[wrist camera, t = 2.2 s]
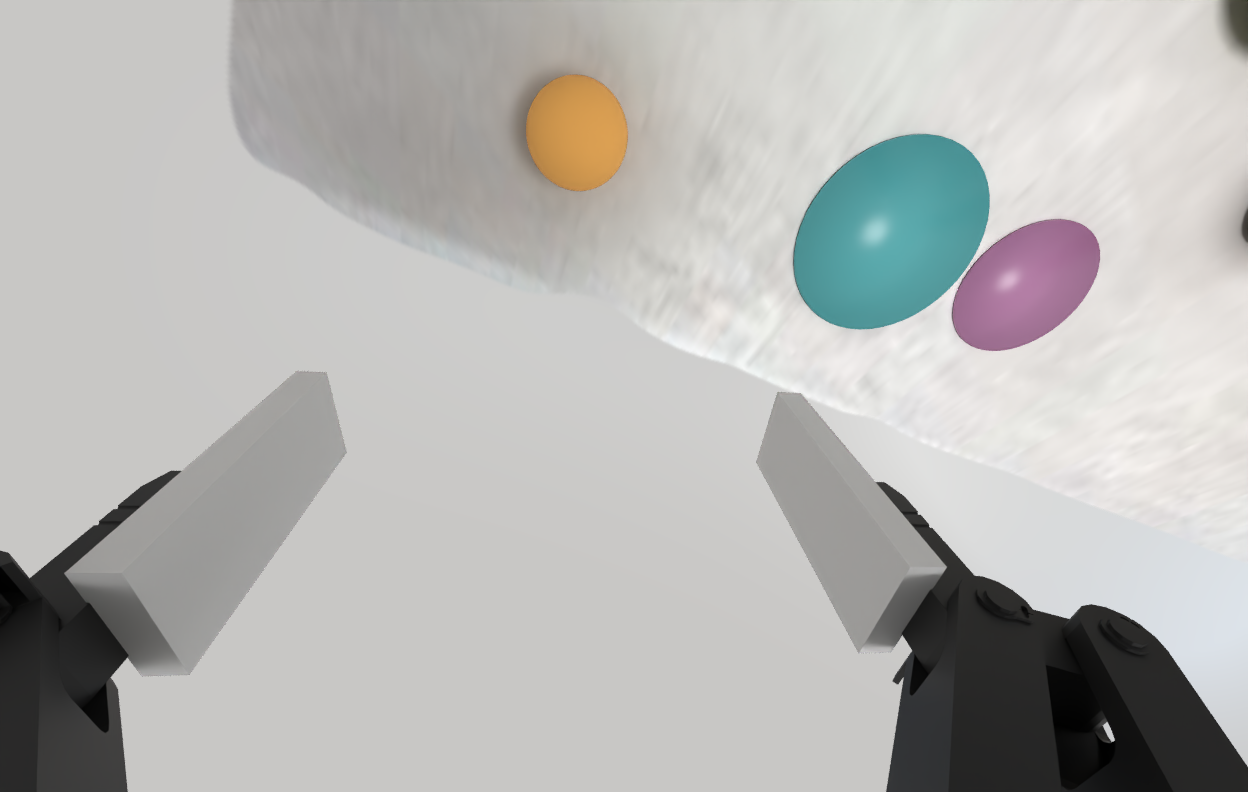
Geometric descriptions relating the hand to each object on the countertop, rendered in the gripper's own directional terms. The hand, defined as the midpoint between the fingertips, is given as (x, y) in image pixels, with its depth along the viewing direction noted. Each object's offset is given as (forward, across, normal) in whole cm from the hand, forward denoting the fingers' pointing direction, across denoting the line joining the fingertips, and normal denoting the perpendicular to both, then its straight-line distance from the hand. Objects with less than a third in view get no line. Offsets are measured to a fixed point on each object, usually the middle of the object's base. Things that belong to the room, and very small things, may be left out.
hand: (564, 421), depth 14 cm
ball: (+17, 0, +7) cm, 19 cm away
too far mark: (+19, +34, 0) cm, 39 cm away
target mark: (+19, +22, +3) cm, 29 cm away
